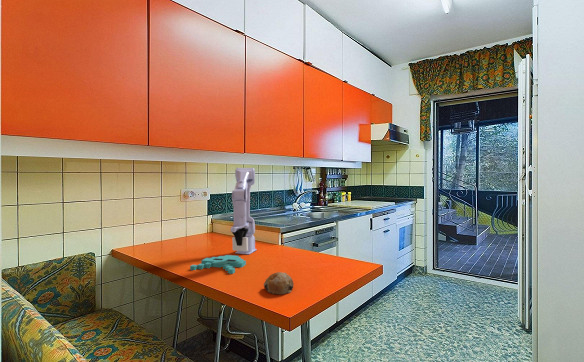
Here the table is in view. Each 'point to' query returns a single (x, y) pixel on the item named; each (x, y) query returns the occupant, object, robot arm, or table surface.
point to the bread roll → (279, 283)
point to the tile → (240, 248)
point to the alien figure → (221, 263)
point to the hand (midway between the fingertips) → (240, 244)
